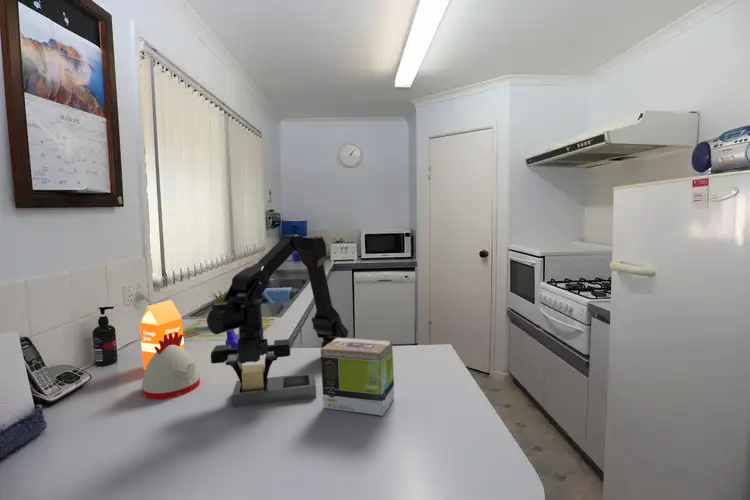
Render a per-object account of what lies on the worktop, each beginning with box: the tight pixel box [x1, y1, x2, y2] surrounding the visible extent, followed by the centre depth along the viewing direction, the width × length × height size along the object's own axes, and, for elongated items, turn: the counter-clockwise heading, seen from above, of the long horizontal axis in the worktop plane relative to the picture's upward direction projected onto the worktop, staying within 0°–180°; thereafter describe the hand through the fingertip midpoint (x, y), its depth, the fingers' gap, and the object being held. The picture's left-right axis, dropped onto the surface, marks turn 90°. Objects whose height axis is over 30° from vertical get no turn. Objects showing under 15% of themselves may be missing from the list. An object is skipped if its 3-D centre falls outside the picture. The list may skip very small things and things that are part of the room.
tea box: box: [320, 337, 395, 417], centre depth 97 cm, size 15×10×15 cm, turn 71°
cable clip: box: [225, 329, 265, 348], centre depth 143 cm, size 12×4×6 cm, turn 91°
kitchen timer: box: [141, 332, 201, 400], centre depth 109 cm, size 14×14×15 cm
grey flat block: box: [231, 372, 317, 408], centre depth 103 cm, size 20×8×3 cm, turn 101°
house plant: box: [207, 289, 228, 306], centre depth 170 cm, size 14×14×16 cm
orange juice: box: [139, 299, 185, 371], centre depth 125 cm, size 8×9×20 cm
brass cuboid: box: [242, 363, 265, 392], centre depth 102 cm, size 5×5×5 cm
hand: (254, 383), depth 102 cm, fingers closed on brass cuboid, 5 cm apart
